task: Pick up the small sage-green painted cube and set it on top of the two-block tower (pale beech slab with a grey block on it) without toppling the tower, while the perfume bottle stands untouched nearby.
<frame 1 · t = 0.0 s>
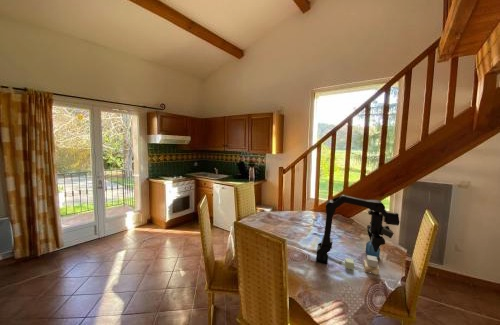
hand: (373, 247, 124), 15 cm above the table, fingers open, 9 cm apart
beech slab: (370, 270, 127), on the table, touching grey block
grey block: (371, 264, 126), point 4 cm above the table, touching beech slab
sage cube: (349, 267, 129), on the table
perfume bottle: (372, 255, 143), on the table
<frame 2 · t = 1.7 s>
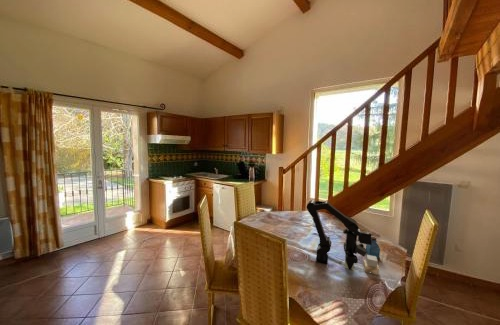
hand: (349, 265, 129), 1 cm above the table, fingers open, 9 cm apart
nothing on the table moved.
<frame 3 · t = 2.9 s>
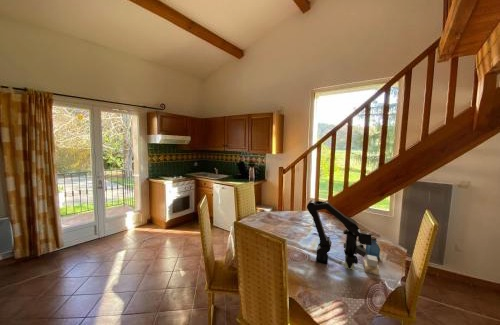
hand: (349, 265, 129), 1 cm above the table, fingers closed on sage cube, 4 cm apart
sage cube: (349, 267, 129), on the table, touching gripper
everything else where it was.
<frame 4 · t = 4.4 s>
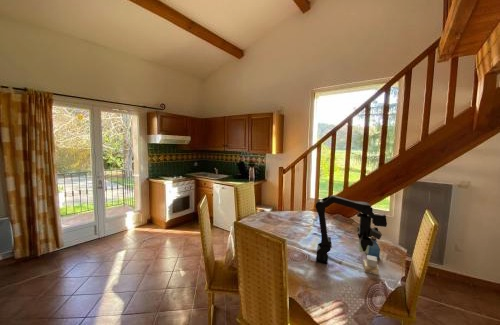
hand: (363, 249, 126), 13 cm above the table, fingers closed on sage cube, 4 cm apart
sage cube: (363, 250, 126), point 12 cm above the table, touching gripper
everything else where it was.
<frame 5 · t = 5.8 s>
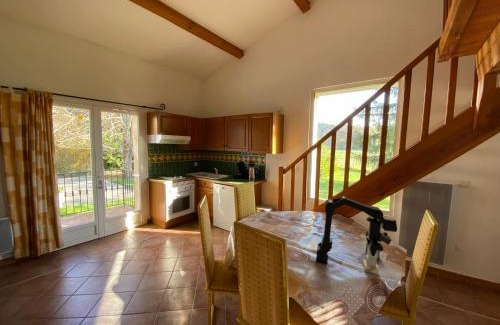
hand: (372, 254, 125), 10 cm above the table, fingers closed on sage cube, 4 cm apart
sage cube: (372, 255, 125), point 9 cm above the table, touching gripper
everything else where it was.
when the fingers open (10 cm above the table, at t = 5.9 s): sage cube drops 1 cm, point 8 cm above the table.
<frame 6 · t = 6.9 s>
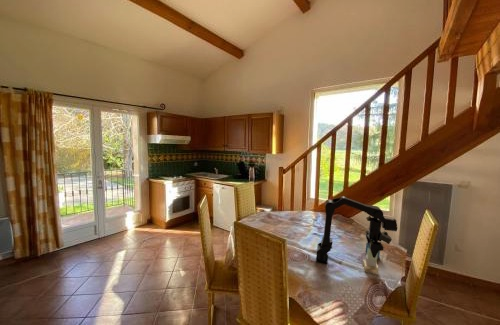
hand: (372, 253, 125), 11 cm above the table, fingers open, 9 cm apart
sage cube: (371, 257, 126), point 8 cm above the table
everything else where it was.
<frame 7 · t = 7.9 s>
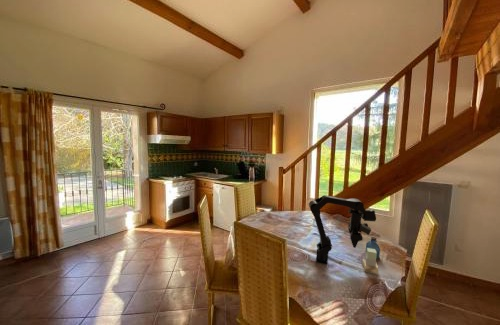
hand: (353, 243, 131), 13 cm above the table, fingers open, 9 cm apart
nothing on the table moved.
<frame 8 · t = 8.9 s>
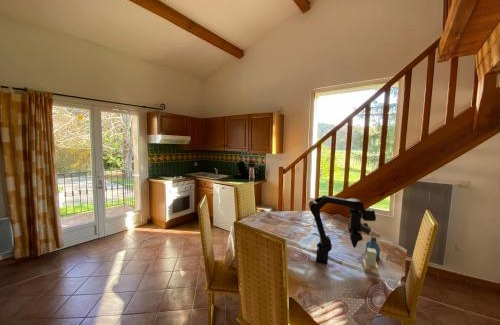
hand: (353, 243, 131), 13 cm above the table, fingers open, 9 cm apart
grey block: (370, 263, 127), point 4 cm above the table, touching beech slab, sage cube
sage cube: (370, 257, 126), point 8 cm above the table, touching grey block
everything else where it was.
at the end: sage cube 0.2 cm off-centre on the beech slab, point 8.0 cm above the beech slab's base; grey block 0.2 cm off-centre on the beech slab, point 4.0 cm above the beech slab's base; sage cube tilted 0° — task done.
